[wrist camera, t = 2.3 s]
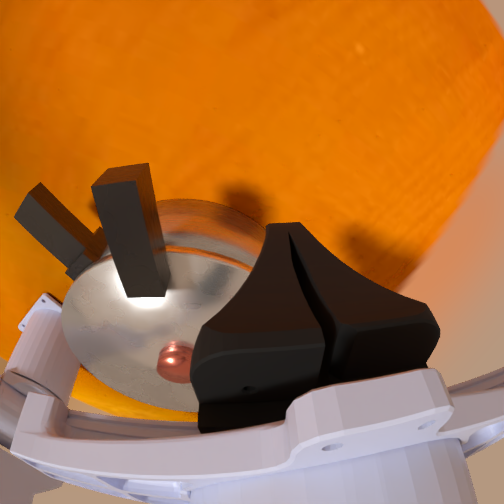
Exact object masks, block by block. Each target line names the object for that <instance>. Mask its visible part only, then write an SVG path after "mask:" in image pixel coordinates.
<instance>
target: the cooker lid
mask: <svg viewBox="0 0 504 504" xmlns="http://www.w3.org/2000/svg"><path fill="white" fill-rule="evenodd" d="M91 189H92V193H93V196H94V200H95V203H96V207H97V210H98V214H99V217H100V221H101V224H102V227H103V230H104V234H105V237H106V240H107V243H108V246H109V249H110V252H111V254H110V255H107V256H105V257H103V258H101V259H99V260H97V261H95V262H94V263H92V264H91V265H89V266H88V267H87V268H85V269H84V270H83V271H82V272H81V273H80V274H79V275H78V276H77V278H76V279H75V281H74V282H73V284H72V285H71V287H70V289H69V291H68V292H67V294H66V297H65V300H64V302H63V306H62V312H61V322H62V328H63V332H64V336H65V338H66V341H67V343H68V345H69V347H70V348H71V350H72V352H73V354H74V355H75V356H76V357H77V359H78V360H79V361H80V363H81V364H82V365H83V366H84V367H85V368H86V369H87V370H88V371H89V372H90V373H92V374H93V375H94V376H95V377H96V378H98V379H99V380H100V381H102V382H103V383H105V384H106V385H108V386H109V387H111V388H113V389H114V390H116V391H118V392H120V393H122V394H124V395H126V396H128V397H130V398H133V399H135V400H138V401H141V402H144V403H147V404H150V405H153V406H157V407H161V408H166V409H171V410H178V411H187V412H198V410H199V402H198V399H197V397H196V394H195V392H194V389H193V387H192V384H191V381H190V364H191V356H192V352H193V349H194V345H195V342H196V339H197V336H198V334H199V332H200V329H201V327H202V325H203V324H205V323H206V322H207V321H208V320H210V319H211V318H212V317H213V316H214V315H216V314H217V313H218V312H219V311H220V310H221V309H222V308H223V307H224V306H225V305H226V304H227V303H228V302H229V301H230V300H231V299H232V297H233V296H234V295H235V294H236V293H237V291H238V290H239V289H240V287H241V286H242V285H243V283H244V282H245V280H246V279H247V277H248V276H249V274H250V272H251V271H252V269H253V267H251V266H249V265H247V264H245V263H243V262H241V261H238V260H236V259H233V258H230V257H227V256H224V255H221V254H218V253H215V252H211V251H206V250H201V249H197V248H191V247H181V246H172V245H167V246H165V242H164V238H163V233H162V229H161V224H160V220H159V215H158V210H157V205H156V200H155V195H154V190H153V185H152V179H151V174H150V168H149V163H143V164H136V165H128V166H122V167H115V168H109V169H107V170H106V171H105V172H104V173H103V174H102V175H101V176H100V177H99V178H98V179H97V181H96V182H95V183H94V184H93V185H92V186H91Z"/></svg>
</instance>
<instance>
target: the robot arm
mask: <svg viewBox="0 0 504 504" xmlns="http://www.w3.org/2000/svg"><path fill="white" fill-rule="evenodd" d="M61 312H62V305H61V304H59V303H58V302H57V301H56V300H55V299H53V298H52V297H51V296H50V295H48V294H47V293H43V294H42V296H41V297H40V298H39V299H38V301H37V302H36V303H35V304H34V306H33V307H32V308H31V309H30V311H29V312H28V313H27V315H26V316H25V317H24V319H23V320H22V321H21V323H20V324H19V326H18V328H19V329H20V330H21V331H22V332H23V333H22V335H21V337H20V339H19V341H18V343H17V345H16V347H15V349H14V351H13V353H12V355H11V357H10V360H9V362H8V364H7V366H6V369H5V371H4V373H3V374H2V375H0V444H1V445H2V446H4V447H6V448H7V449H9V450H10V452H11V453H12V454H13V455H15V456H16V457H18V458H19V459H18V458H16V457H15V456H13V455H11V454H9V453H7V452H6V451H4V450H2V449H0V504H32V501H33V496H34V495H35V494H38V493H42V492H46V491H50V490H53V489H56V488H59V487H61V486H62V483H63V482H66V483H69V484H73V485H76V486H79V487H83V488H86V489H90V490H94V491H98V492H101V493H105V494H109V495H113V496H117V497H121V498H126V499H130V500H135V501H140V502H145V503H151V504H478V503H477V499H476V495H475V491H474V487H473V484H472V480H471V476H470V473H469V470H468V466H467V463H466V460H465V459H466V458H468V457H469V456H472V455H474V454H475V453H477V452H479V451H481V450H483V449H485V448H487V447H488V446H490V445H492V444H494V443H496V442H497V441H499V440H500V439H502V438H504V367H503V368H500V369H498V370H495V371H493V372H490V373H488V374H485V375H482V376H480V377H477V378H474V379H471V380H468V381H465V382H462V383H459V384H456V385H453V386H450V387H446V385H445V382H444V380H443V378H442V376H441V374H440V373H439V372H438V371H437V370H436V369H433V368H428V366H427V364H426V362H427V360H428V358H429V357H430V355H431V354H432V352H433V350H434V348H435V347H436V345H437V342H438V340H439V338H440V328H439V326H438V324H437V322H436V320H435V318H434V316H433V314H432V312H431V311H430V309H429V308H428V306H427V305H426V304H425V303H422V302H419V301H417V300H414V299H411V298H408V297H405V296H402V295H400V294H398V293H395V292H393V291H391V290H389V289H386V288H384V287H382V286H380V285H378V284H376V283H375V282H373V281H371V280H369V279H367V278H366V277H364V276H362V275H361V274H359V273H358V272H356V271H355V270H353V269H352V268H350V267H349V266H347V265H346V264H345V263H343V262H342V261H341V260H339V259H338V258H337V257H336V256H334V255H333V254H332V253H331V252H330V251H329V250H327V249H326V248H325V247H324V246H323V245H322V244H321V243H320V242H319V241H318V240H317V239H316V238H315V237H314V236H313V235H312V234H311V233H310V232H309V231H308V230H307V229H306V228H305V227H304V226H303V225H302V224H301V223H300V222H292V223H272V224H268V225H267V226H266V236H265V240H264V243H263V246H262V249H261V252H260V254H259V257H258V259H257V261H256V263H255V265H254V267H253V269H252V271H251V272H250V274H249V276H248V277H247V279H246V280H245V282H244V283H243V285H242V286H241V287H240V289H239V290H238V291H237V293H236V294H235V295H234V296H233V297H232V299H231V300H230V301H229V302H228V303H227V304H226V305H225V306H224V307H223V308H222V309H221V310H220V311H219V312H218V313H217V314H216V315H214V316H213V317H212V318H211V319H210V320H208V321H207V322H206V323H205V324H203V325H202V327H201V329H200V332H199V334H198V336H197V339H196V342H195V345H194V349H193V352H192V356H191V364H190V381H191V384H192V387H193V389H194V392H195V394H196V397H197V399H198V402H199V410H198V422H177V421H158V420H145V419H133V418H124V417H115V416H107V415H99V414H93V413H87V412H81V411H74V410H70V409H68V407H67V406H68V402H69V399H70V396H71V392H72V389H73V386H74V383H75V380H76V377H77V374H78V371H79V368H80V365H81V363H80V361H79V360H78V359H77V357H76V356H75V355H74V354H73V352H72V350H71V348H70V347H69V345H68V343H67V341H66V338H65V336H64V332H63V328H62V322H61ZM20 459H21V460H20Z"/></svg>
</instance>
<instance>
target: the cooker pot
mask: <svg viewBox="0 0 504 504" xmlns="http://www.w3.org/2000/svg"><path fill="white" fill-rule="evenodd" d="M156 205H157V210H158V215H159V220H160V224H161V229H162V233H163V238H164V242H165V246H167V245H172V246H181V247H191V248H197V249H201V250H206V251H211V252H215V253H218V254H221V255H224V256H227V257H230V258H233V259H236V260H238V261H241V262H243V263H245V264H247V265H249V266H251V267H254V265H255V263H256V261H257V259H258V257H259V254H260V252H261V249H262V246H263V243H264V240H265V236H266V230H265V229H264V228H263V227H262V226H261V225H259V224H258V223H257V222H255V221H254V220H253V219H251V218H249V217H248V216H246V215H244V214H242V213H241V212H239V211H236V210H234V209H232V208H229V207H227V206H224V205H221V204H217V203H213V202H209V201H203V200H196V199H170V200H161V201H157V202H156ZM14 218H15V219H16V220H17V221H18V222H19V223H20V224H21V225H22V226H23V227H24V228H25V229H26V230H27V231H28V232H29V233H30V234H31V235H32V236H33V237H34V238H35V239H37V240H38V241H39V242H40V243H41V244H42V245H43V246H44V247H45V248H46V249H47V250H48V251H49V252H50V253H52V254H53V255H54V256H55V257H56V258H57V259H58V260H59V261H60V262H62V263H63V264H64V265H65V266H66V267H67V268H68V269H67V270H66V272H65V273H66V274H67V275H68V276H69V277H70V278H71V279H73V280H74V281H75V279H76V278H77V276H78V275H79V274H80V273H81V272H82V271H83V270H84V269H85V268H87V267H88V266H89V265H91V264H92V263H94V262H95V261H97V260H99V259H101V258H103V257H105V256H107V255H110V254H111V252H110V249H109V246H108V243H107V240H106V237H105V234H104V230H103V229H102V228H101V227H99V228H98V229H97V230H96V231H95V232H94V233H92V232H91V231H90V230H89V229H88V228H87V227H86V226H85V225H84V224H82V223H81V222H80V221H79V220H78V219H77V218H76V217H75V216H74V215H73V214H72V213H71V212H70V211H69V210H68V209H67V208H66V207H65V206H64V205H63V204H62V203H61V202H60V201H59V200H58V199H57V198H56V197H55V196H54V195H53V194H52V193H51V192H50V191H49V190H48V189H47V188H46V187H45V186H44V185H43V184H42V183H41V182H40V183H39V184H38V185H37V186H35V187H34V188H33V189H32V190H31V191H30V192H29V193H28V194H27V196H26V197H25V199H24V200H23V202H22V204H21V206H20V207H19V209H18V211H17V212H16V214H15V216H14Z"/></svg>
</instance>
